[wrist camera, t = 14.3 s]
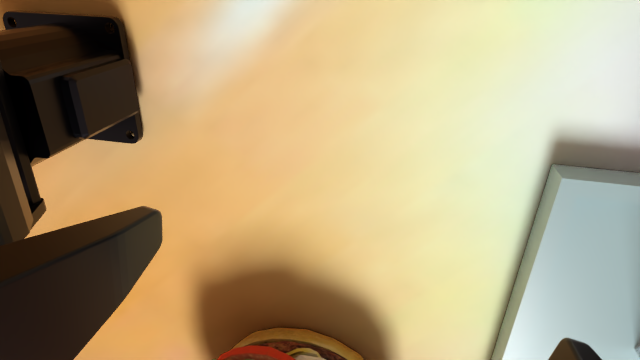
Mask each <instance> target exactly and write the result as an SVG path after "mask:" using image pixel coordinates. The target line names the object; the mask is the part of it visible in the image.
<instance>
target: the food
mask: <svg viewBox="0 0 640 360" xmlns="http://www.w3.org/2000/svg"><path fill="white" fill-rule="evenodd" d="M213 360H216V359H213ZM217 360H364V359H363V358H362V357H361V356H360V354H359V353H357V352H355V351H354V350H352V349H350V348H349V347H347V346H345V345H344V344H342V343H340V342H339V341H337V340H335V339H334V338H331V337H328V336H325V335H322V334H319V333H316V332H313V331H310V330H307V329H295V328H278V327H277V328H272V329H267V330H262V331H257V332H254V333H252V334H250V335H249V336H247V337H246V338H244V339H243V340H242V341H240V342H239V343H238V344H237V345H235V346H234V347H233V348H232V350H230V351H228V352H225V353H223V354H221V355H220V357H219V358H218V359H217Z"/></svg>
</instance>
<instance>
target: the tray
mask: <svg viewBox="0 0 640 360" xmlns="http://www.w3.org/2000/svg"><path fill="white" fill-rule="evenodd" d="M563 338H571V339H575V340H578V341H581V342H584V343H586V344H588V345H589V346H590V347H591V348H592V349H593V350H594V351H595V352H596V353H597V354H598V355H599V357H600V358H601V359H602V360H640V358H639V356H638V354H637V353H636V351H635V349H634V348H635V347H637V346H638V345H639V344H640V173H634V172H625V171H615V170H605V169H595V168H585V167H575V166H565V165H556V164H552V166H551V169H550V172H549V176H548V179H547V182H546V185H545V188H544V192H543V195H542V198H541V201H540V204H539V208H538V211H537V214H536V217H535V220H534V224H533V227H532V230H531V233H530V236H529V240H528V243H527V246H526V249H525V252H524V256H523V259H522V262H521V265H520V268H519V272H518V275H517V278H516V281H515V284H514V288H513V291H512V294H511V297H510V300H509V304H508V307H507V310H506V313H505V316H504V320H503V323H502V326H501V329H500V332H499V336H498V339H497V342H496V345H495V348H494V352H493V355H492V358H491V360H548V359H549V357H550V356H551V354H552V353H553V351H554V350H555V348H556V346H557V345H558V343H559V342H560V341H561V340H562V339H563Z"/></svg>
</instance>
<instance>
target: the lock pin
mask: <svg viewBox="0 0 640 360" xmlns="http://www.w3.org/2000/svg"><path fill="white" fill-rule="evenodd" d="M634 349H635V351H636V353H637V354H638V356H639V358H640V344H639V345H638V346H637V347H635V348H634Z"/></svg>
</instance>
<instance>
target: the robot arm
mask: <svg viewBox="0 0 640 360" xmlns="http://www.w3.org/2000/svg"><path fill="white" fill-rule="evenodd" d="M14 19H15V21H16V23H17V25H16V24H15V22H14ZM3 21H4V25H5V28H6V30H2V31H0V360H73V359H74V358H75V357H76V356H77V355H78V354H79V352H80V351H81V350H82V349H83V348H84V346H85V345H86V344H87V343H88V342H89V341H90V339H91V338H92V337H93V336H94V335H95V334H96V332H97V331H98V330H99V329H100V328H101V326H102V325H103V324H104V323H105V322H106V321H107V319H108V318H109V317H110V316H111V315H112V314H113V312H114V311H115V310H116V309H117V308H118V306H119V305H120V304H121V303H122V301H123V300H124V299H125V297H126V296H127V295H128V293H129V292H130V291H131V289H132V288H133V286H134V285H135V283H136V282H137V280H138V279H139V277H140V276H141V275H142V273H143V272H144V270H145V269H146V267H147V266H148V264H149V263H150V261H151V260H152V258H153V257H154V256H155V254H156V253H157V251H158V250H159V248H160V246H161V243H162V215H161V212H160V211H158V210H156V209H153V208H150V207H146V206H141V207H138V208H134V209H131V210H127V211H123V212H120V213H116V214H112V215H109V216H105V217H102V218H98V219H94V220H91V221H87V222H84V223H80V224H76V225H73V226H69V227H66V228H62V229H58V230H55V231H51V232H48V233H44V234H40V235H37V236H33V237H29V238H26V239H24V238H25V237H26V236H27V235H28V234H29V233H30V230H31V229H32V227H33V226H34V225H35V224H36V222H37V221H38V220H39V219H40V218H41V216H42V215H43V214H44V213H45V211H46V206H45V202H44V199H43V198H40V194H39V191H38V188H37V184H36V181H35V177H34V174H33V171H32V166H34V165H36V164H38V163H40V162H42V161H44V160H46V159H47V158H50V157H52V156H54V155H56V154H58V153H60V152H61V151H63V150H65V149H67V148H69V147H71V146H73V145H75V144H77V143H79V142H81V141H83V140H85V139H95V140H104V141H113V142H122V143H131V144H132V143H136V142H138V141H139V140H141V139H142V137H143V132H142V126H141V121H140V115H139V105H138V99H137V94H136V88H135V82H134V77H133V71H132V65H131V63H130V59H129V53H128V48H127V42H126V36H125V31H124V26H123V24H122V22H121V21H120V20H119V19H118V18H117V17H113V16H97V15H79V14H61V13H43V12H25V11H10V12H6V13H5V14H4V16H3ZM110 24H112V25H113V26H114V32H113V31H112V30H111V28H110ZM130 131H132V132H133V133H134V136H132V135H131V133H130ZM548 360H602V359H601V358H600V357H599V355H598V354H597V353H596V352H595V351H594V350H593V349H592V348H591V347H590V346H589V345H588V344H586V343H584V342H581V341H578V340H575V339H571V338H563V339H562V340H561V341H560V342H559V343H558V345H557V346H556V348H555V350H554V351H553V353H552V354H551V356H550V357H549V359H548Z"/></svg>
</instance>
